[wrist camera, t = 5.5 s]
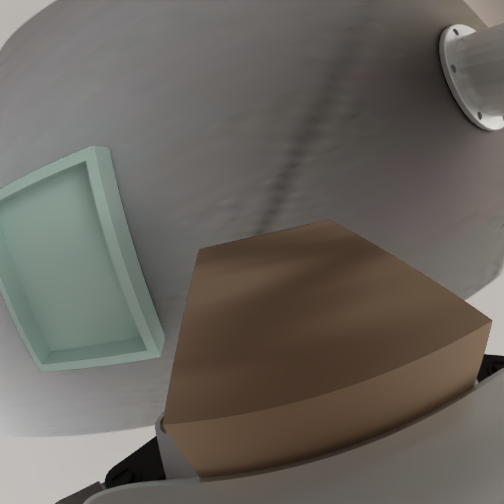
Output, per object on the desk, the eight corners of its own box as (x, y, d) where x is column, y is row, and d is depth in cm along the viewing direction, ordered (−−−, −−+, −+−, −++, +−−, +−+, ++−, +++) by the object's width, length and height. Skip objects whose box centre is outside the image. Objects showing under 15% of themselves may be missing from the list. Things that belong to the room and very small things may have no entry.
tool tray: (109, 147, 19) (94, 144, 16) (165, 336, 23) (160, 357, 20) (-6, 199, 18) (-26, 204, 15) (52, 354, 22) (40, 372, 20)
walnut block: (329, 219, 11) (492, 320, 3) (343, 376, 13) (412, 506, 6) (199, 249, 11) (162, 424, 3) (246, 402, 13) (267, 550, 6)
